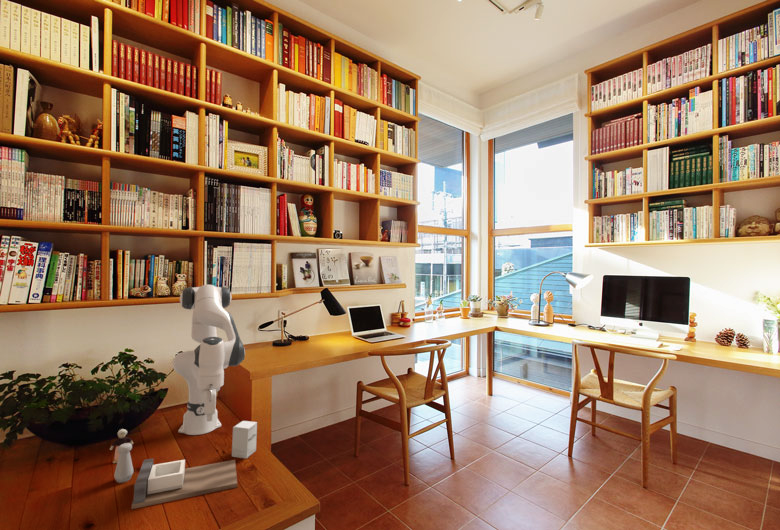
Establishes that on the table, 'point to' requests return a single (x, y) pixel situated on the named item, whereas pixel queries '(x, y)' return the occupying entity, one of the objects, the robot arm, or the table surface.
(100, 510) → the table surface
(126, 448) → the salt shaker
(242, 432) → the supplement box
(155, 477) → the frame
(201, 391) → the robot arm
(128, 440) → the grandmother figurine
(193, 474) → the board
